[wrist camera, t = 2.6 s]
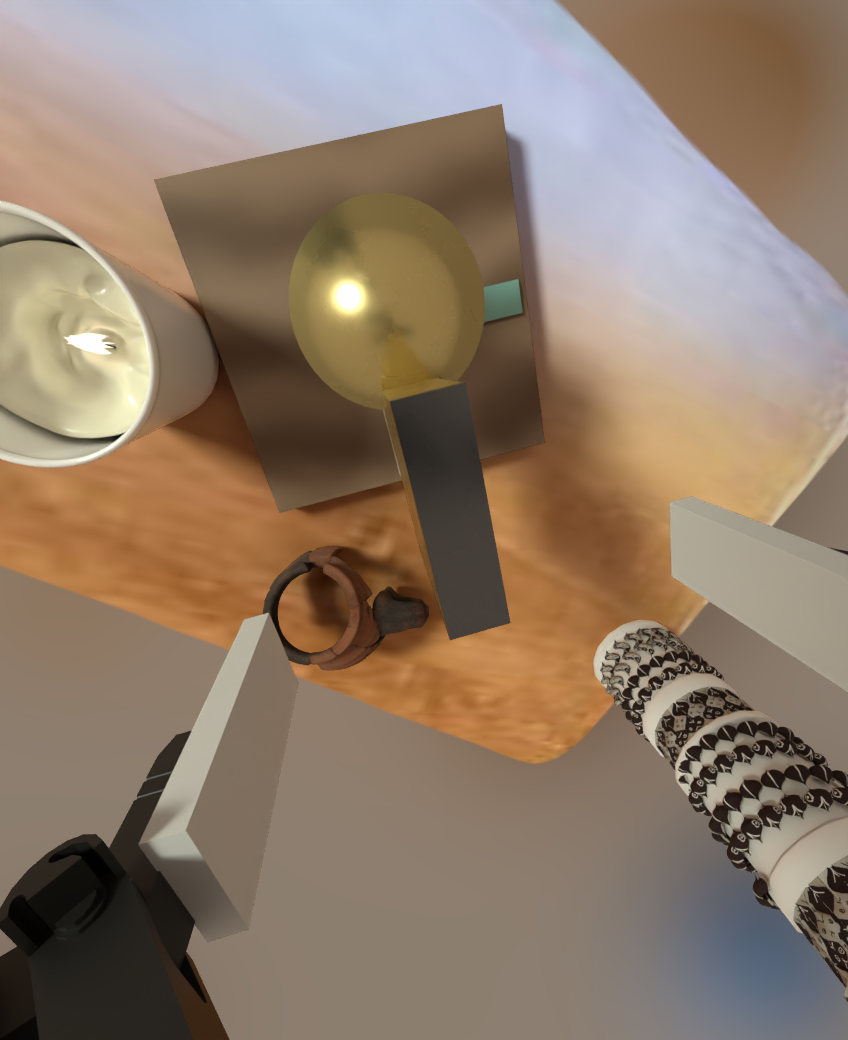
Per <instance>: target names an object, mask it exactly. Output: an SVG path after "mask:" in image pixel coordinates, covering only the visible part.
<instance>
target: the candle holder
mask: <svg viewBox="0 0 848 1040" xmlns="http://www.w3.org/2000/svg"><path fill="white" fill-rule="evenodd" d="M218 372H219V356H218V350H217V346H216V343H215V340H214V338H213V335H212V332H211V330H210V328H209V327H208V325H207V323H206V322H205V320H204V319H203V318H202V316H201V315H200V314H199V313H198V311H197V310H196V309H195V308H194V307H193V306H192V305H191V304H190V303H188V302H187V301H186V300H185V299H184V298H182V297H181V296H180V295H178V294H177V293H175V292H174V291H172V290H170V289H169V288H167V287H166V286H164V285H162V284H160V283H159V282H157V281H155V280H154V279H152V278H150V277H149V276H147V275H145V274H143V273H142V272H140V271H138V270H136V269H135V268H133V267H131V266H130V265H128V264H126V263H124V262H123V261H121V260H119V259H117V258H116V257H114V256H112V255H111V254H109V253H107V252H105V251H104V250H102V249H100V248H98V247H97V246H95V245H93V244H92V243H90V242H88V241H87V240H86V239H84V238H83V237H81V236H80V235H79V234H77V233H76V232H74V231H73V230H71V229H70V228H68V227H66V226H65V225H63V224H61V223H59V222H58V221H56V220H54V219H52V218H50V217H48V216H46V215H44V214H41V213H39V212H37V211H34V210H31V209H29V208H26V207H23V206H20V205H16V204H13V203H9V202H5V201H0V459H2V460H5V461H8V462H12V463H16V464H21V465H26V466H33V467H44V468H61V467H72V466H78V465H83V464H87V463H90V462H94V461H96V460H99V459H102V458H104V457H106V456H108V455H110V454H112V453H114V452H116V451H117V450H119V449H120V448H122V447H123V446H125V445H127V444H129V443H131V442H133V441H135V440H137V439H139V438H141V437H143V436H145V435H147V434H149V433H151V432H153V431H156V430H158V429H160V428H162V427H164V426H166V425H168V424H170V423H172V422H174V421H176V420H178V419H180V418H182V417H184V416H186V415H188V414H190V413H191V412H193V411H194V410H196V409H197V408H198V407H200V406H201V405H202V404H203V403H204V402H205V401H206V400H207V399H208V397H209V396H210V394H211V393H212V391H213V389H214V387H215V384H216V381H217V377H218Z"/></svg>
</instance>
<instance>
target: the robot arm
mask: <svg viewBox="0 0 848 1040" xmlns="http://www.w3.org/2000/svg"><path fill="white" fill-rule="evenodd" d="M670 531H671V567H672V577H673V578H675V579H676V580H678V581H679V582H681V583H682V584H684V585H685V586H687V587H688V588H690V589H692V590H693V591H695V592H696V593H698V594H699V595H701V596H702V597H704V598H705V599H707V600H708V601H710V602H711V603H713V604H714V605H716V606H717V607H719V608H720V609H722V610H723V611H725V612H727V613H728V614H729V615H731V616H733V617H734V618H736V619H737V620H739V621H740V622H742V623H743V624H745V625H747V626H748V627H749V628H751V629H752V630H754V631H756V632H757V633H758V634H760V635H761V636H763V637H764V638H766V639H767V640H769V641H770V642H772V643H774V644H775V645H777V646H778V647H780V648H781V649H783V650H784V651H786V652H787V653H789V654H790V655H792V656H793V657H795V658H796V659H798V660H799V661H801V662H802V663H804V664H805V665H807V666H808V667H810V668H812V669H813V670H814V671H816V672H817V673H819V674H821V675H822V676H824V677H825V678H827V679H828V680H830V681H831V682H833V683H834V684H836V685H837V686H839V687H841V688H842V689H843V690H845V691H846V692H848V551H843V550H838V549H833V548H828V547H825V546H822V545H819V544H816V543H813V542H811V541H809V540H806V539H804V538H801V537H798V536H796V535H792V534H790V533H788V532H785V531H782V530H780V529H777V528H774V527H772V526H769V525H766V524H764V523H761V522H758V521H756V520H753V519H750V518H748V517H745V516H743V515H740V514H737V513H735V512H732V511H729V510H727V509H724V508H721V507H719V506H716V505H713V504H711V503H708V502H705V501H703V500H700V499H697V498H695V497H688V498H684V499H681V500H677V501H673V502H670ZM297 688H298V681H297V678H296V676H295V673H294V671H293V669H292V666H291V664H290V662H289V659H288V657H287V655H286V652H285V650H284V647H283V645H282V643H281V640H280V638H279V636H278V633H277V631H276V628H275V626H274V624H273V621H272V619H271V617H270V614H269V613H266V614H263V615H259V616H256V617H252V618H248V619H245V620H244V621H243V623H242V625H241V627H240V630H239V632H238V634H237V636H236V638H235V640H234V642H233V644H232V647H231V649H230V651H229V653H228V655H227V657H226V660H225V662H224V664H223V666H222V668H221V670H220V672H219V674H218V676H217V678H216V681H215V683H214V685H213V687H212V689H211V691H210V694H209V696H208V698H207V700H206V702H205V704H204V706H203V708H202V710H201V713H200V715H199V717H198V719H197V721H196V723H195V725H194V727H193V729H192V731H188V732H185V733H182V734H178V735H176V736H175V737H174V738H173V740H171V742H170V743H169V744H168V745H167V746H166V747H165V748H164V750H163V751H162V752H161V753H160V754H159V755H158V757H157V759H156V760H155V763H154V764H153V766H152V768H151V770H150V772H149V774H148V776H147V781H146V782H144V783H143V785H142V787H141V789H140V791H139V793H138V795H137V800H135V801H134V802H133V804H132V806H131V808H130V810H129V811H128V813H127V815H126V817H125V819H124V821H123V823H122V825H121V827H120V829H119V830H118V832H117V834H116V836H115V838H114V840H113V842H112V844H111V846H110V847H109V848H108V847H107V846H106V844H105V843H104V842H103V840H102V839H101V838H99V837H98V836H97V835H96V834H90V835H89V834H88V835H85V834H83V835H81V836H79V837H76V838H73V839H71V840H68V841H66V842H64V843H63V844H61V845H59V846H58V847H57V848H55V849H53V850H52V851H50V852H48V853H47V854H46V855H45V856H44V857H43V858H41V859H40V860H39V861H38V862H37V863H36V864H34V865H33V866H32V867H31V868H30V869H29V870H28V871H27V872H26V873H25V874H24V875H23V876H22V878H21V879H20V880H19V881H18V882H17V884H16V885H15V886H14V887H13V888H12V889H11V891H10V892H9V894H8V896H7V898H6V899H5V901H4V903H3V904H2V906H1V908H0V929H1V930H2V931H3V932H4V933H5V934H6V935H7V936H8V937H9V938H10V939H11V940H12V941H13V942H14V943H15V944H16V945H17V947H16V948H14V949H12V950H11V951H9V952H7V953H6V954H4V955H2V956H1V957H0V1040H229V1038H228V1036H227V1033H226V1031H225V1029H224V1027H223V1025H222V1023H221V1020H220V1018H219V1016H218V1014H217V1012H216V1010H215V1007H214V1005H213V1003H212V1001H211V999H210V997H209V994H208V992H207V990H206V988H205V986H204V984H203V982H202V979H201V977H200V975H199V973H198V971H197V968H196V966H195V964H194V962H193V960H192V959H191V957H190V956H189V955H188V953H187V952H186V950H187V947H188V944H189V940H190V937H191V934H192V930H193V927H194V924H195V925H196V927H197V928H198V930H199V931H200V932H201V934H202V935H203V937H204V938H205V940H206V941H207V942H210V941H213V940H216V939H220V938H223V937H226V936H229V935H232V934H236V933H239V932H241V931H245V930H248V929H249V926H250V921H251V916H252V911H253V906H254V901H255V896H256V891H257V886H258V881H259V876H260V871H261V867H262V862H263V856H264V852H265V847H266V841H267V837H268V832H269V827H270V822H271V817H272V812H273V807H274V801H275V797H276V792H277V787H278V782H279V777H280V772H281V767H282V762H283V757H284V752H285V747H286V742H287V737H288V732H289V727H290V722H291V717H292V712H293V707H294V702H295V697H296V693H297Z"/></svg>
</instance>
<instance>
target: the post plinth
mask: <svg viewBox="0 0 848 1040" xmlns="http://www.w3.org/2000/svg"><path fill="white" fill-rule="evenodd" d="M154 182H155V184H156V187H157V190H158V192H159V195H160V198H161V200H162V203H163V205H164V208H165V211H166V213H167V216H168V219H169V221H170V224H171V227H172V229H173V232H174V235H175V237H176V240H177V243H178V245H179V248H180V250H181V253H182V256H183V258H184V261H185V264H186V266H187V269H188V272H189V274H190V277H191V280H192V282H193V285H194V287H195V290H196V293H197V295H198V298H199V301H200V303H201V306H202V309H203V311H204V314H205V317H206V319H207V322H208V324H209V327H210V330H211V332H212V335H213V338H214V340H215V343H216V346H217V348H218V351H219V354H220V356H221V359H222V362H223V364H224V367H225V369H226V372H227V375H228V377H229V380H230V383H231V385H232V388H233V391H234V393H235V396H236V399H237V401H238V404H239V406H240V409H241V412H242V414H243V417H244V420H245V422H246V425H247V428H248V430H249V433H250V436H251V438H252V441H253V443H254V446H255V449H256V451H257V454H258V457H259V459H260V462H261V465H262V467H263V470H264V473H265V475H266V478H267V481H268V483H269V486H270V488H271V491H272V494H273V496H274V499H275V502H276V504H277V507H278V510H279V512H280V513H281V512H284V511H288V510H292V509H296V508H300V507H303V506H307V505H311V504H315V503H319V502H322V501H326V500H330V499H334V498H337V497H341V496H345V495H349V494H353V493H356V492H360V491H364V490H368V489H372V488H375V487H379V486H383V485H387V484H391V483H394V482H398V481H402V479H401V475H400V471H399V467H398V463H397V459H396V455H395V452H394V448H393V444H392V440H391V436H390V432H389V428H388V425H387V421H386V417H385V413H384V410H379V409H373V408H369V407H365V406H362V405H360V404H357V403H354V402H352V401H350V400H348V399H346V398H344V397H343V396H341V395H340V394H338V393H337V392H335V391H334V390H333V389H331V388H330V387H329V386H328V385H327V384H326V383H325V382H324V381H322V379H321V378H320V377H319V376H318V375H317V374H316V373H315V371H314V370H313V369H312V367H311V366H310V364H309V363H308V361H307V360H306V358H305V356H304V355H303V353H302V351H301V349H300V347H299V344H298V342H297V339H296V337H295V334H294V330H293V326H292V322H291V317H290V309H289V284H290V276H291V271H292V267H293V264H294V260H295V257H296V255H297V252H298V250H299V247H300V246H301V244H302V242H303V240H304V239H305V237H306V235H307V234H308V232H309V231H310V230H311V228H312V227H313V226H314V225H315V223H316V222H317V221H318V220H319V219H320V218H321V217H322V216H323V215H325V214H326V213H327V212H328V211H330V210H331V209H333V208H334V207H335V206H337V205H339V204H341V203H343V202H345V201H347V200H349V199H351V198H354V197H358V196H361V195H365V194H372V193H393V194H399V195H405V196H408V197H411V198H414V199H417V200H419V201H421V202H423V203H425V204H427V205H429V206H431V207H432V208H434V209H435V210H437V211H438V212H439V213H441V214H442V215H443V216H444V217H445V218H447V219H448V220H449V221H450V222H451V223H452V224H453V225H454V226H455V227H456V229H457V230H458V231H459V232H460V233H461V235H462V236H463V238H464V239H465V241H466V242H467V244H468V245H469V247H470V249H471V251H472V253H473V255H474V257H475V259H476V262H477V265H478V268H479V271H480V273H481V278H482V283H483V287H484V297H485V317H484V325H483V331H482V335H481V339H480V342H479V345H478V347H477V350H476V353H475V355H474V357H473V359H472V361H471V363H470V364H469V366H468V367H467V369H466V370H465V372H464V373H463V375H462V376H461V377H460V378H459V379H458V380H457V381H458V382H466V387H467V392H468V397H469V403H470V408H471V414H472V419H473V424H474V430H475V435H476V441H477V446H478V451H479V457H480V460H481V459H485V458H489V457H493V456H497V455H500V454H504V453H508V452H512V451H516V450H519V449H523V448H527V447H531V446H535V445H538V444H542V443H545V439H544V432H543V424H542V416H541V408H540V400H539V392H538V384H537V376H536V369H535V361H534V353H533V345H532V337H531V329H530V321H529V314H528V306H527V298H526V290H525V282H524V274H523V266H522V258H521V251H520V243H519V235H518V227H517V219H516V211H515V203H514V195H513V188H512V180H511V172H510V164H509V156H508V148H507V140H506V132H505V125H504V117H503V109H502V104H500V105H496V106H491V107H487V108H482V109H477V110H473V111H468V112H464V113H459V114H454V115H450V116H445V117H441V118H436V119H431V120H427V121H422V122H418V123H413V124H408V125H404V126H399V127H395V128H390V129H385V130H381V131H376V132H371V133H367V134H362V135H358V136H353V137H348V138H344V139H339V140H335V141H330V142H325V143H321V144H316V145H312V146H307V147H302V148H298V149H293V150H289V151H284V152H279V153H275V154H270V155H266V156H261V157H256V158H252V159H247V160H243V161H238V162H233V163H229V164H224V165H220V166H215V167H210V168H206V169H201V170H197V171H192V172H187V173H183V174H178V175H174V176H169V177H164V178H160V179H155V180H154Z"/></svg>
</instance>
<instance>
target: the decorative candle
mask: <svg viewBox="0 0 848 1040" xmlns="http://www.w3.org/2000/svg"><path fill="white" fill-rule="evenodd" d="M593 666H594V674H595V676H596V677H597V678H598V680H599V681H600V683H601V684H602V685H603V686H604V687H606V693H608V694H610V695H611V696H614V699H615V701H614V703H615V705H617V706H619V705H622V709H623V711H624V712H625V713H626V718H627V719H628V720H629V721H631V722H633V724H634V725H635V726H636V731H637V733H638V734H639V735H641V736H644V738H645V739H646V740H647V741H649V742H651V744H652V745H653V746H654V747H655V749H656V750H657V751H658V753H659V754H660V755H661V756H662V757H665V758H666V759H667V761H668V762H669V763H670V765H671V766H672V767H673V768H674V770H675V772H676V773H675V775H676V781H677V782H678V784H679V785H680V786H681V788H682V789H683V791H684V792H685V793H686V794H687V796H689V801H690V803H691V804H692V805H693V808H694V809H695V811H696V812H698V813H703V814H705V815H706V816H712V818H711V820H710V822H709V829H710V831H711V832H712V836H713V838H714V839H715V840H716V841H718V842H722V843H723V844H725V845H728V849H727V856H728V858H729V859H730V860H731V861H732V864H733V865H734V866H735V867H736V868H737V869H740V870H747V871H750V872H758V873H759V875H760V876H761V877H762V878H763V879H762V878H758V877H757V876H756V880H755V882H754V884H753V892H754V894H755V896H756V899H757V901H758V902H759V903H760V904H761V905H763V906H766V907H771V908H773V909H780V910H781V911H782V912H783V913H784V914H785V916H786V917H787V918H788V920H789V921H790V922H791V924H792V925H793V926H794V927H795V929H796V930H797V931H798V932H800V933H803V934H804V935H805V936H806V938H807V939H808V940H809V942H810V943H811V944H812V945H813V947H814V948H815V949H816V951H817V952H818V953H819V954H820V956H821V957H822V958H823V960H824V961H825V962H826V963H827V964H828V966H829V967H830V968H831V970H832V971H833V972H834V973H835V975H836V976H837V977H838V978H839V980H840V981H841V982H842V983H843V985H844V986H845V988H846V991H845V996H844V997H845V998H846V1000H847V1002H848V775H847V774H846V773H845V772H842V771H837V770H835V771H831V769H830V768H828V767H827V766H828V764H827V760H826V759H825V758H824V756H822V755H821V754H819V753H814V751H813V749H812V748H811V747H809V746H808V745H806V744H804V742H803V741H802V740H801V739H800V738H798V737H794V734H793V732H792V731H791V730H790V729H788V728H786V727H780V726H779V724H778V722H777V721H776V720H775V719H774V718H772V717H770V716H768V715H766V714H764V713H762V712H760V711H755V710H754V709H752V708H751V707H750V706H749V705H748V704H747V703H745V702H744V701H743V700H741V699H740V697H739V695H738V693H737V692H736V691H735V690H734V689H733V688H731V687H730V686H729V685H728V684H727V683H726V682H724V679H723V676H722V675H721V674H720V673H718V672H717V670H716V669H715V668H714V667H711V666H709V665H708V663H707V662H706V661H703V659H702V657H701V656H699V655H695V653H694V651H693V650H692V649H691V648H690V647H689V646H688V645H687V644H686V643H685V642H683V641H681V640H680V639H679V638H678V637H677V636H676V635H675V634H674V633H672V632H670V631H668V629H667V628H666V627H665V626H663V625H661V624H659V623H657V622H656V621H654V620H639V619H638V620H635V621H632V622H628V623H625V624H622V625H621V626H619V627H618V628H616V629H615V630H613V631H612V632H610V633H609V634H608V635H607V636H606V637H605V638H604V640H603V641H602V642H601V644H600V645H599V646H598V648H597V651H596V654H595V657H594V660H593ZM622 701H623V702H622ZM784 738H785V739H784ZM812 762H813V763H814V764H815V765H814V764H813V763H812ZM834 780H836V781H837V782H838V783H840V784H841V785H843V786H844V787H845V788H841V787H839V786H838V785H837V784H836V783H834Z"/></svg>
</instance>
